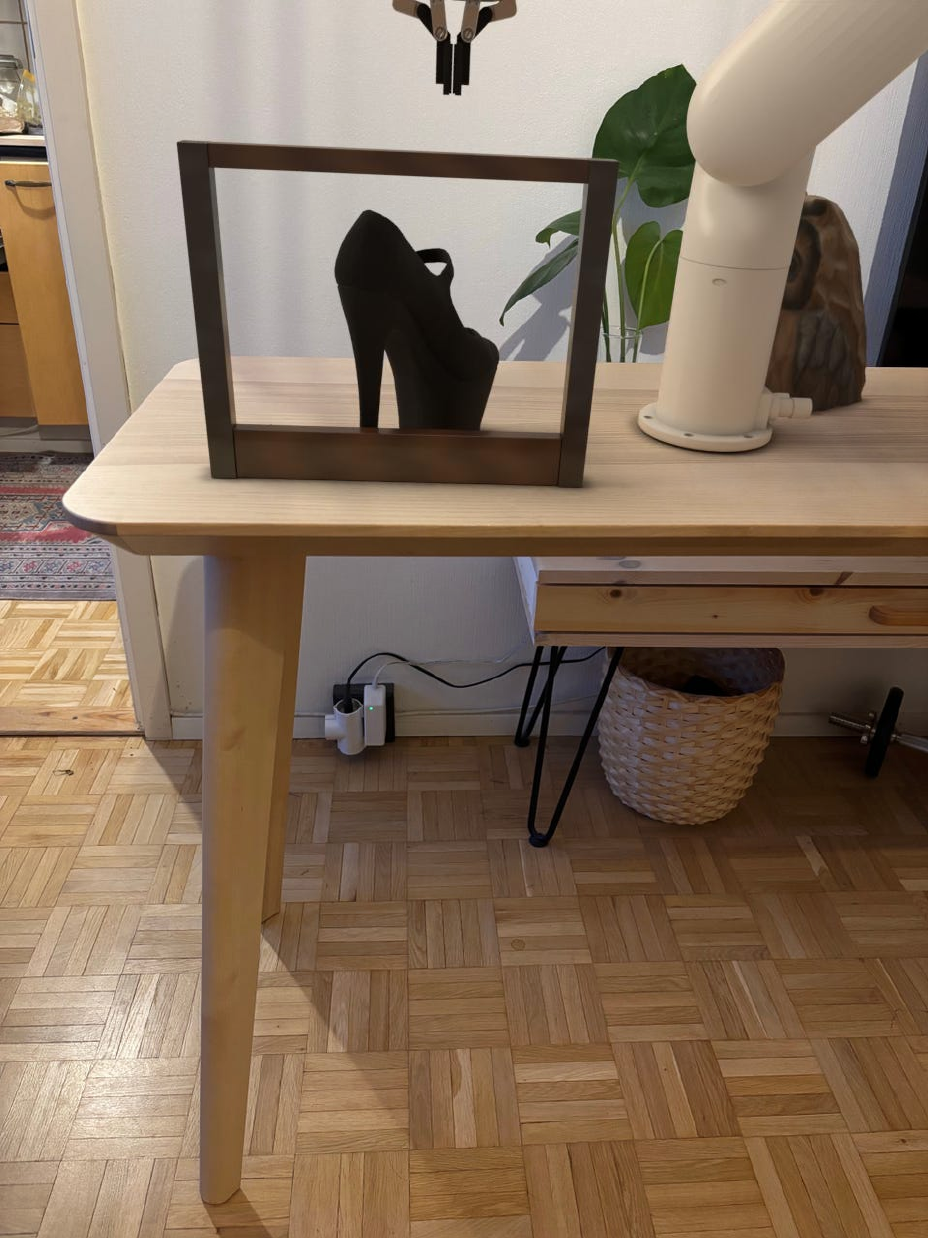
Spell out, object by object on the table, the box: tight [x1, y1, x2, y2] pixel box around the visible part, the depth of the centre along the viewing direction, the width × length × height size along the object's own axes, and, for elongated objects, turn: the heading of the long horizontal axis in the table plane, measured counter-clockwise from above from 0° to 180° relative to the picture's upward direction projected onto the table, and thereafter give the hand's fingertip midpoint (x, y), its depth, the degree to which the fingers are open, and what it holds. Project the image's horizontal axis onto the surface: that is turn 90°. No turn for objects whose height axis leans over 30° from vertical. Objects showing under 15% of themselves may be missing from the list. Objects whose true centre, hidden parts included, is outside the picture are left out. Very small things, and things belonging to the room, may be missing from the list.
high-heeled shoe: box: [333, 209, 500, 431], centre depth 77 cm, size 8×19×20 cm, turn 145°
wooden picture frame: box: [176, 139, 620, 488], centre depth 69 cm, size 30×2×24 cm, turn 92°
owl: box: [764, 190, 868, 413], centre depth 96 cm, size 13×13×20 cm
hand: (451, 94), depth 83 cm, fingers closed
